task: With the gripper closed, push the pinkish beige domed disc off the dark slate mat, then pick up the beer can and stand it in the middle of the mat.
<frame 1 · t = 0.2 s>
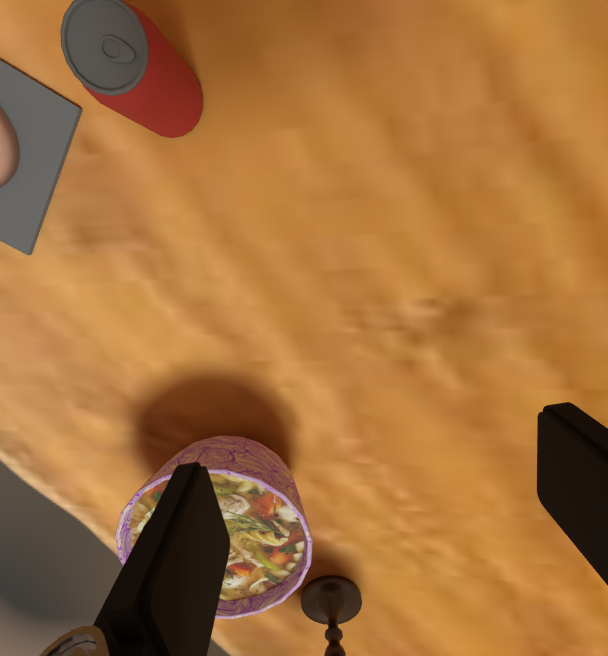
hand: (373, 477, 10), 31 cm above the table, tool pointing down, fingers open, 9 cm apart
bowl of food: (235, 471, 48), on the table
candlestick: (331, 596, 55), on the table
beer can: (171, 101, 34), on the table
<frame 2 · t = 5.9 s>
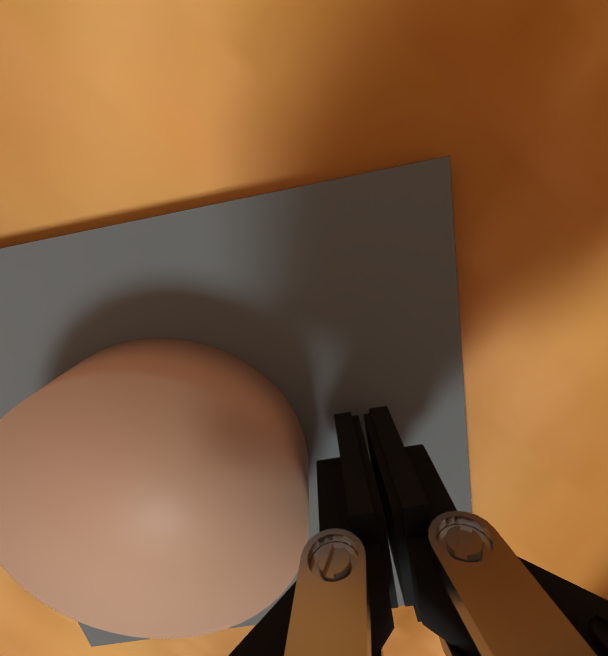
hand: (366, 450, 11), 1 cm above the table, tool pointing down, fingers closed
pinkish beige domed disc: (176, 462, 12), point 1 cm above the table, touching slate mat
slate mat: (231, 449, 13), on the table
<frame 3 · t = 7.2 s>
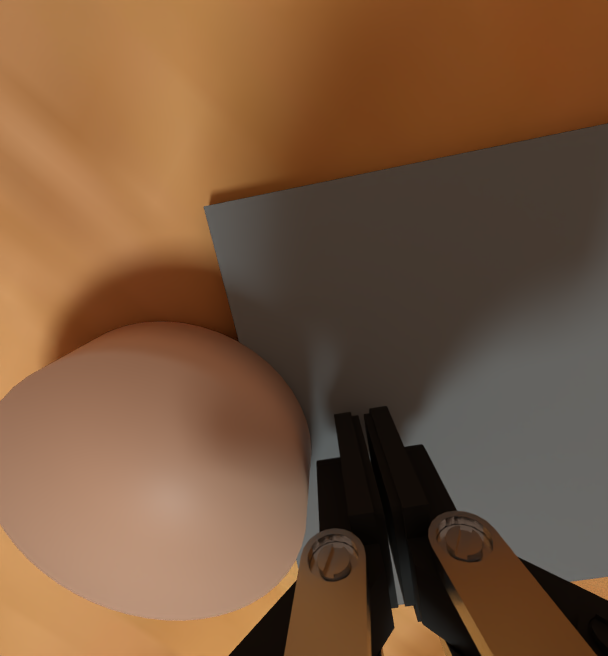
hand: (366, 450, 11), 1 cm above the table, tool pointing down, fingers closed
pinkish beige domed disc: (180, 446, 12), on the table, touching gripper
slate mat: (500, 405, 12), on the table
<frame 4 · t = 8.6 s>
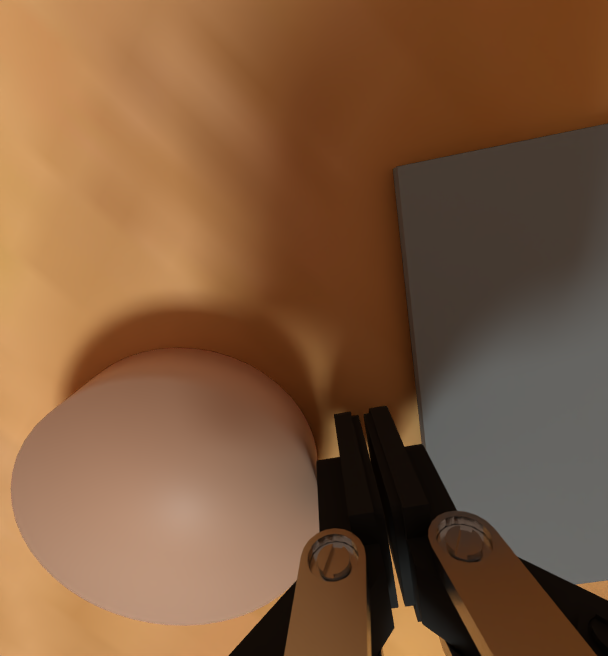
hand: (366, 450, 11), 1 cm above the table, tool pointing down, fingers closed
pinkish beige domed disc: (193, 460, 13), on the table
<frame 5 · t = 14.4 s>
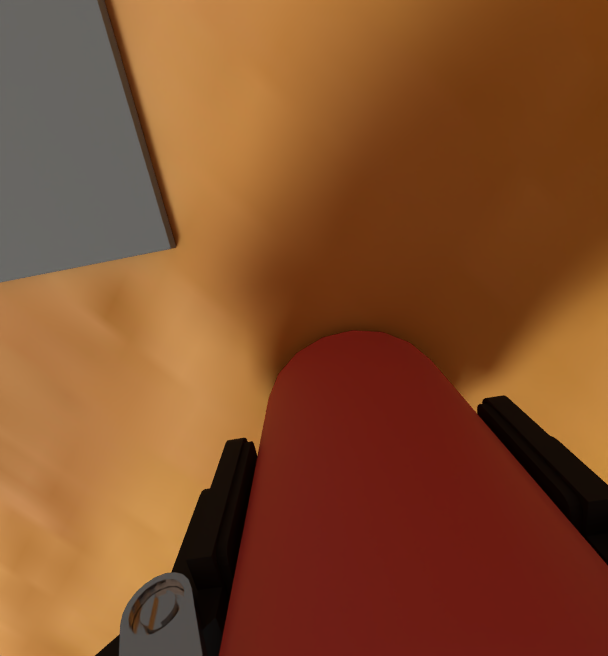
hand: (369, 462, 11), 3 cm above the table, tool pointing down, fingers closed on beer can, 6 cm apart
beer can: (354, 403, 14), on the table, touching gripper
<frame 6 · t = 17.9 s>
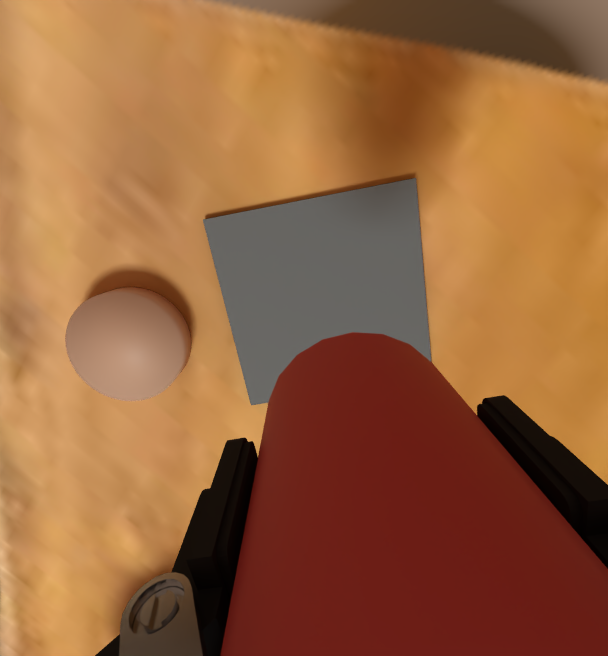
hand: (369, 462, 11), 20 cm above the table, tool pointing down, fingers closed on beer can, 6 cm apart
pinkish beige domed disc: (138, 338, 31), on the table
beer can: (354, 405, 14), point 16 cm above the table, touching gripper
slate mat: (325, 301, 29), on the table
when the fingers open (5 cm above the table, at t = 21.3 s): beer can stays where it is, resting on slate mat.
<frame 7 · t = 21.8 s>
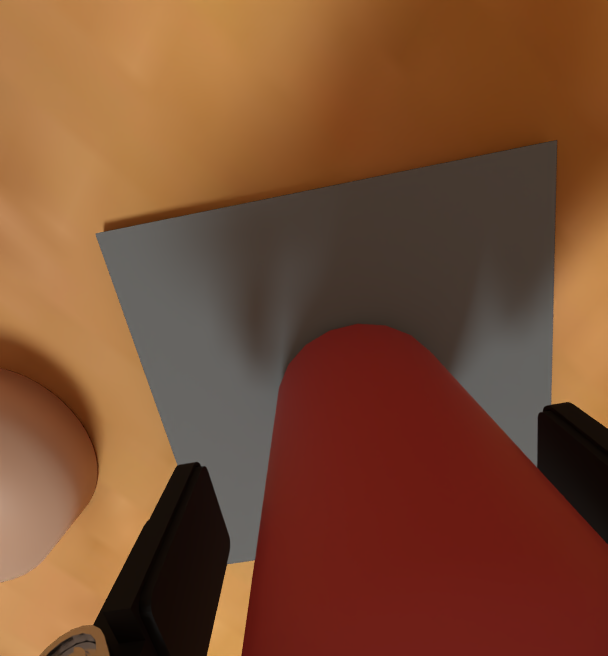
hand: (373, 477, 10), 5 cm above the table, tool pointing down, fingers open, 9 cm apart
beer can: (358, 393, 15), resting on slate mat
slate mat: (350, 388, 15), on the table
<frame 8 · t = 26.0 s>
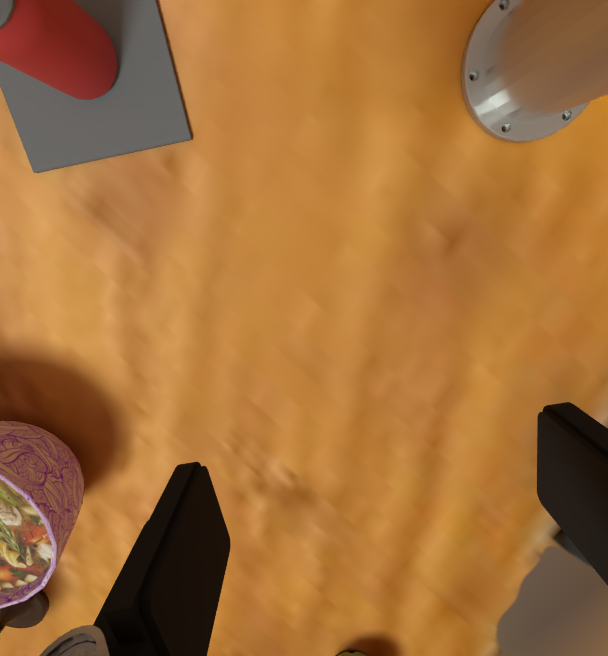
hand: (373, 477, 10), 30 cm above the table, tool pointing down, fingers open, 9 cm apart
bowl of food: (38, 459, 46), on the table
candlestick: (19, 599, 54), on the table
beer can: (85, 61, 33), resting on slate mat
slate mat: (83, 62, 33), on the table
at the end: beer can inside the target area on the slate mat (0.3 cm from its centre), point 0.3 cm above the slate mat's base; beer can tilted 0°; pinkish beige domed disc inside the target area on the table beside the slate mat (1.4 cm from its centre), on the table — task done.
